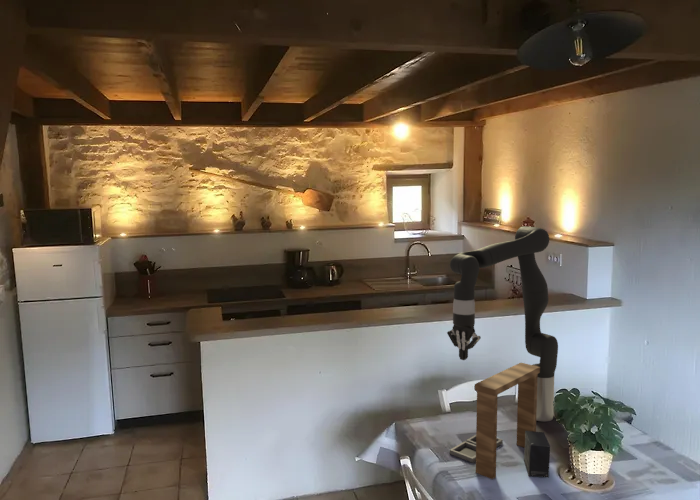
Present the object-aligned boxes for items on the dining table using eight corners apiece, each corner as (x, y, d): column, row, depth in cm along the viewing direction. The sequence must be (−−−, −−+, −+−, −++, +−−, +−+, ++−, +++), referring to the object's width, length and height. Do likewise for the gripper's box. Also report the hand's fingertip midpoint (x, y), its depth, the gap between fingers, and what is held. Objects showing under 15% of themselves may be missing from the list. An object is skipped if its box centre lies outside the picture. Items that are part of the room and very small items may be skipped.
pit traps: (480, 435, 201) (480, 431, 201) (502, 443, 195) (502, 439, 195) (449, 454, 188) (449, 449, 188) (472, 463, 182) (472, 458, 182)
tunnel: (518, 442, 196) (520, 362, 193) (537, 448, 191) (539, 367, 188) (473, 472, 176) (474, 384, 172) (493, 480, 171) (494, 389, 168)
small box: (550, 478, 172) (551, 446, 171) (528, 477, 173) (529, 444, 172) (543, 461, 182) (544, 431, 181) (523, 460, 183) (524, 430, 182)
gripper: (486, 312, 193) (485, 360, 195) (454, 306, 202) (453, 353, 204) (474, 316, 188) (473, 366, 190) (442, 310, 197) (441, 357, 199)
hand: (463, 359), depth 197 cm, fingers closed
